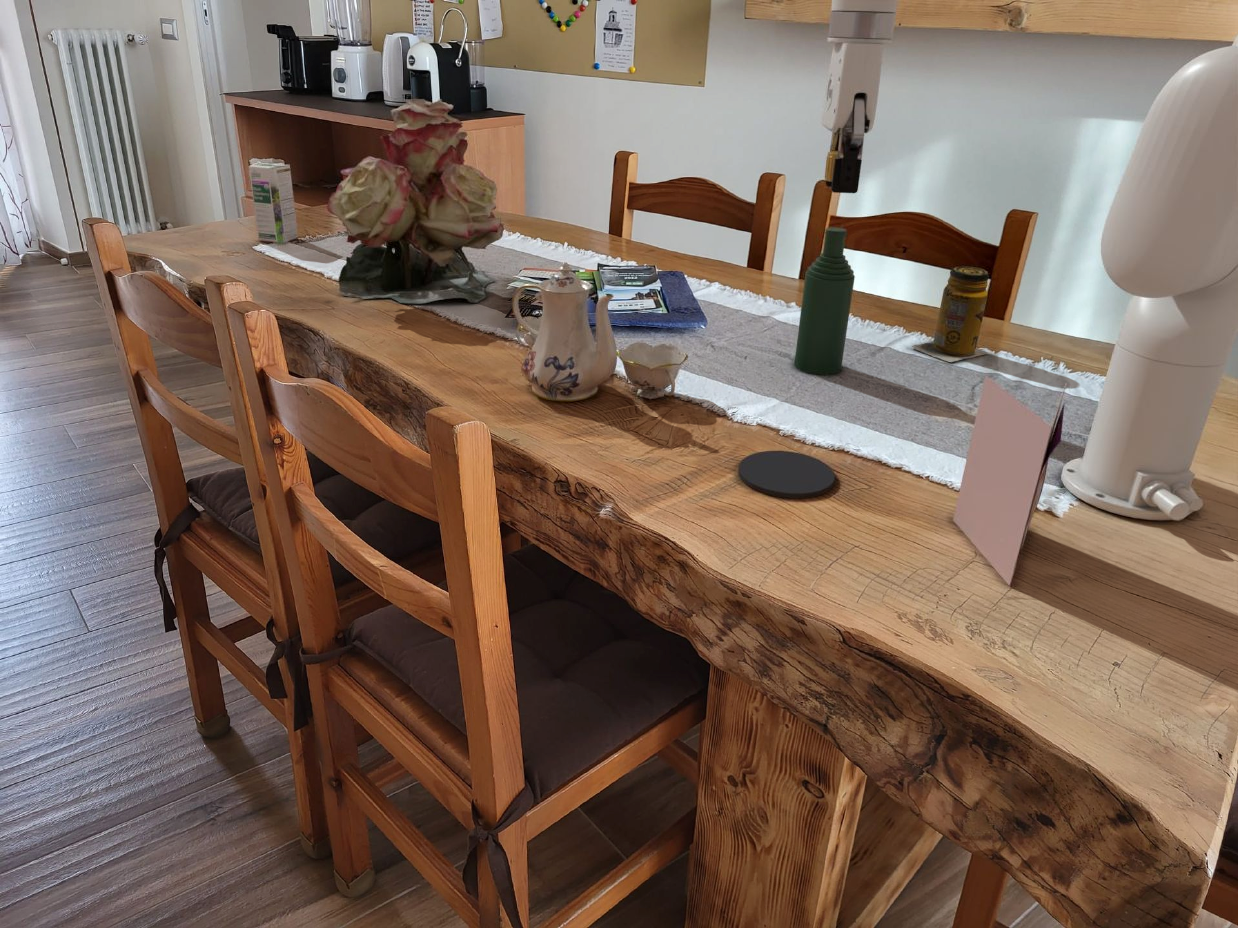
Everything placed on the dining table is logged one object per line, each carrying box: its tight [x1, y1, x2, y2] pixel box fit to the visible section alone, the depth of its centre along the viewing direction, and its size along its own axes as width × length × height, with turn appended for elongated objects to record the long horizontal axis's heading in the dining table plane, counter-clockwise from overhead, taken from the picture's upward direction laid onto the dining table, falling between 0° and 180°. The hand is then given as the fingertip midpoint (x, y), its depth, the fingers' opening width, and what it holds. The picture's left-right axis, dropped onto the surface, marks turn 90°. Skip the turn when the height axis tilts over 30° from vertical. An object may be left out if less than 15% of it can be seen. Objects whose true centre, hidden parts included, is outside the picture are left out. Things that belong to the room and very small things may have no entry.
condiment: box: [910, 265, 990, 363], centre depth 132 cm, size 7×8×12 cm
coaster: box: [737, 450, 836, 500], centre depth 96 cm, size 10×10×1 cm
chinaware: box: [511, 261, 689, 403], centre depth 115 cm, size 28×17×17 cm, turn 56°
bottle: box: [794, 226, 856, 376], centre depth 122 cm, size 6×6×19 cm
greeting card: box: [952, 374, 1067, 587], centre depth 81 cm, size 11×7×15 cm, turn 151°
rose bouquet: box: [326, 97, 505, 305], centre depth 150 cm, size 26×29×30 cm
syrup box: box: [248, 162, 299, 244], centre depth 180 cm, size 6×6×14 cm
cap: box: [824, 150, 838, 182], centre depth 115 cm, size 4×4×3 cm
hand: (841, 188), depth 116 cm, fingers closed on cap, 3 cm apart
